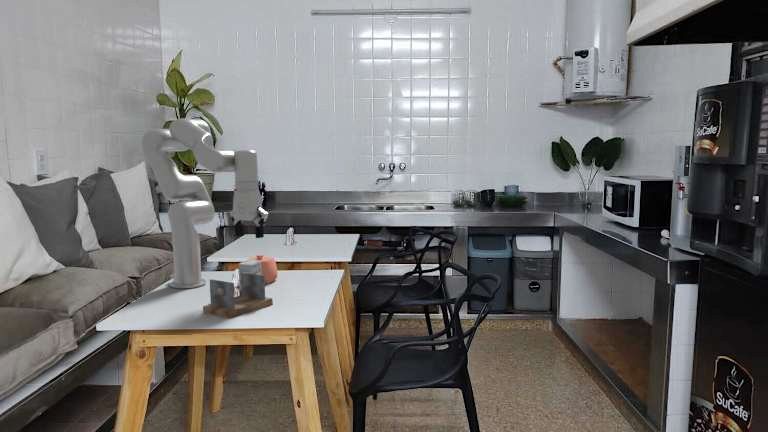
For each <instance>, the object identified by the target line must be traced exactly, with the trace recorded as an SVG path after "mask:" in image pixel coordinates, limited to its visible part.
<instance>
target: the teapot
mask: <svg viewBox="0 0 768 432" xmlns="http://www.w3.org/2000/svg"><path fill="white" fill-rule="evenodd" d="M247 260H259V261H261V275H264V277H265V285H266V284H270V283H272V282H274V281H276V280H277V278H278V268H277V263H276V260H275V257H269V256H268V257H264V255H263V254H256V256H255V257H253V256H252V257H250V258H248V259H246V260H245V261H247Z"/></svg>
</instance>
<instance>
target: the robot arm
mask: <svg viewBox="0 0 768 432" xmlns="http://www.w3.org/2000/svg"><path fill="white" fill-rule="evenodd" d="M210 131H211V130H210V127H209V125H208V124H207V122H206V121H204V120H203V119H199V118H177V119H174V120H173V121H171V123H170V124H169V128H153V129H149V130H147V131H146V132H144V134H143V135H142V139H141V150H142V154H143V157H144V158H145V160H146V162H147V163H148V165H149V166H150V168H151V169H152V171H153V174H154V176H155V178H156V181H157V184H158V186H159V187H160V191H161V192H162V195H163V196H164V198H165V199H166V200H167V201H171V202H172V201H175V203H172V204H171V205H170V206H169V208H168V210H167V211H168V212H167V217H168V220H169V226H170V229H171V239H172V255H173V273H171V274H170V275H169V277H170V278H173V280H172V281H171V282H170V287H171V288H174V289H194V288H199V287H202V286H205V285H206V284H207V280H206V279H204V278H202V265H201V261H202V260H201V243H200V236H199V233H198V231H197V230H196V228H195V226H199V225H206V224H210V223H211V222H212V221H213V220H214V219H215V215H216V213H215V207H214V204H213V202H212V199H211V198H210V194H209V193H208V191H207V188H206V186H205V184H204V182H203V180H202V179H201V178H200V177H198V176H197V175H194V174H182V173H181V172H180V170H179V168H178V166H177V164H176V162H175V161H174V160H173V159H172V157H170V156H169V155H168V154H167V153H166V152H186V151H188V150H191V152H193V157H194V159H195V161H196V162H197V164H199V165H200V166H202V167H203V168H204V169H206V170H208V171H209V172H212V173H234V178H235V179H234V181H235V184H234V186H235V191H234V192H233V199H232V210H230V211H229V215H230V217H231V221H232V222H233V225H234V232H235V237H237V238H238V237H243V236H244V233H245V232H244V224H243V222H244V221H247V222H249V221H250V222H251V221H253V223H254V224H255V225H256V226H254V231H255V234H254V235H255V239H259V238H260V239H261V238H264V237H265V236H264V233H265V231H264V226H265V224H266V222H267V219H268V216H269V212H267V211H265V210H264V209H263V203H262V201H263V200H262V198H261V197H262V195H261V192H260V190H259V171H258V168H259V167H258V155H257V152H256V151H255V150H252V149H250V150H249V149H246V150H245V149H244V150H238V149H235V150H234V149H233V150H231V149H214V148H212V147H213V144H214V138H213V136H212V134H211V133H210ZM176 201H177V202H176Z"/></svg>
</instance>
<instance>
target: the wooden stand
mask: <svg viewBox="0 0 768 432" xmlns="http://www.w3.org/2000/svg"><path fill="white" fill-rule="evenodd" d="M209 291H210V292H209V293H210V294H209V295H210V304H209V303H208V304H206V305H202V312H203V313H204V314H208V315H213V316H217V317H223V318H226V319H232V318H235V317H238V316H241V315H244V314H248V313H251V312H253V311H254V312H255V311H257V310H259V309H262V308H266V307H269V306H272V305H273V303H274V302H273V301H274V300H273V298H272V297H267V296H266V284H265V277H264V275H260V274H253V273H246V272H241V292H242V295H240V294H239V295H238V296H235V283H234V282H229V281H225V280H224V281H223V280H217V279H211V278H210V279H209Z"/></svg>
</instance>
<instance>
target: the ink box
mask: <svg viewBox="0 0 768 432" xmlns="http://www.w3.org/2000/svg"><path fill="white" fill-rule="evenodd" d="M246 260H247V261H246ZM246 260H245V261H242V262H240V263H238V280H239V281H238V283H239V287H238V288H239V296H240V295H242V292H241V272H246V273H253V274H260V275H261V261H259V260H248V259H246Z"/></svg>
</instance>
